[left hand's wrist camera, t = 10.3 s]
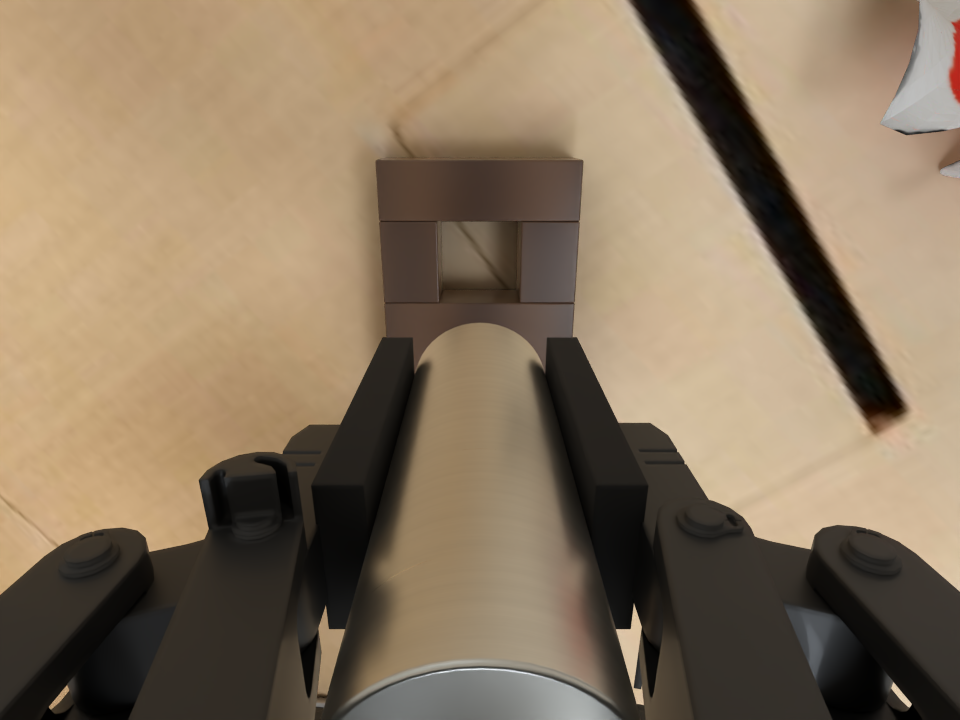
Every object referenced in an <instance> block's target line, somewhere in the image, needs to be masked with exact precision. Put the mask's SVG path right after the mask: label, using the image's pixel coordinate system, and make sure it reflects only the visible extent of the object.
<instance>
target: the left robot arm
mask: <svg viewBox="0 0 960 720" xmlns="http://www.w3.org/2000/svg"><path fill="white" fill-rule="evenodd" d="M414 376H415V374H414V352H413V337H383V338H382V340H381V342H380V344H379V346H378V348H377V350H376V352H375V354H374V357H373V359H372V361H371V363H370V365H369V367H368V369H367V371H366V373H365V375H364V377H363V379H362V381H361V383H360V385H359V387H358V390H357V392H356V394H355V396H354V398H353V400H352V402H351V404H350V406H349V408H348V410H347V412H346V414H345V416H344V418H343V420H342V422H341V425H309V426H307V427H306V428H304V429H303V430H301V431H300V432H299V433H297V434H296V435H294V436H293V437H292V438H291V439H290V441H289V443H288V444H287V446H286V447H285V449H284V451H283V454H279V453H275V452H255V453H249V454H243V455H238V456H236V457H233V458H230V459H227V460H224V461H222V462H220V463H218V464H217V465H215V466H213V467H212V468H210V469H209V470H207V471H206V472H205V474H204V475H203V476H202V477H201V478H200V479H199V484H200V489H201V493H202V498H203V503H204V508H205V512H206V517H207V522H208V527H209V530H208V533H207V535H206V537H205V539H204V540H201V541H197V542H194V543H190V544H186V545H181V546H176V547H172V548H167V549H162V550H157V551H152V552H149V550H148V546H147V542H146V538H145V537H144V536H143V535H142V534H141V533H139V532H138V531H137V530H132V529H127V528H112V529H102V530H97V531H94V532H89V533H86V534H83V535H81V536H79V537H77V538H75V539H72V540H70V541H68V542H66V543H64V544H62V545H60V546H59V547H57V548H56V549H54V550H53V551H52V552H50V553H49V554H47V555H46V556H44V557H43V558H42V559H41V560H40V561H39V562H38V563H36V564H35V565H34V566H33V567H32V568H31V569H30V570H28V571H27V572H26V573H25V574H24V575H23V576H22V577H20V578H19V579H18V580H17V581H16V582H15V583H14V584H12V585H11V586H10V587H9V588H8V589H7V590H6V591H4V592H3V593H2V594H1V595H0V720H315V710H316V700H317V691H318V681H319V671H320V661H321V645H320V638H319V631H318V627H319V624H320V621H321V618H322V615H323V612H324V609H325V606H326V609H327V617H328V625H329V629H346V625H347V621H348V618H349V614H350V610H351V607H352V603H353V599H354V596H355V592H356V588H357V585H358V581H359V577H360V574H361V570H362V566H363V563H364V559H365V555H366V552H367V548H368V544H369V541H370V537H371V533H372V530H373V526H374V522H375V519H376V515H377V511H378V508H379V504H380V501H381V497H382V493H383V490H384V486H385V482H386V479H387V475H388V471H389V468H390V464H391V460H392V457H393V453H394V449H395V446H396V442H397V438H398V435H399V431H400V427H401V424H402V420H403V416H404V413H405V409H406V405H407V402H408V398H409V394H410V391H411V387H412V383H413V380H414ZM545 376H546V380H547V383H548V387H549V391H550V394H551V398H552V401H553V405H554V409H555V412H556V416H557V419H558V423H559V427H560V430H561V434H562V437H563V441H564V445H565V448H566V452H567V455H568V459H569V463H570V466H571V470H572V473H573V477H574V481H575V484H576V488H577V491H578V495H579V499H580V502H581V506H582V509H583V513H584V517H585V520H586V524H587V528H588V531H589V535H590V538H591V542H592V546H593V549H594V553H595V556H596V560H597V564H598V567H599V571H600V574H601V578H602V582H603V585H604V589H605V592H606V596H607V600H608V603H609V607H610V610H611V614H612V618H613V621H614V625H615V628H616V629H631V621H632V614H633V606H634V604H635V607H636V610H637V613H638V616H639V619H640V622H641V625H642V631H641V638H640V645H639V653H638V660H637V668H636V675H635V682H634V688H637V689H641V687H642V689H643V699H644V709H645V718H646V720H960V592H959V591H958V590H957V589H956V588H955V587H954V586H952V585H951V584H950V583H949V582H948V581H947V580H946V579H944V578H943V577H942V576H941V575H940V574H939V573H937V572H936V571H935V570H934V569H933V568H932V567H931V566H929V565H928V564H927V563H926V562H925V561H924V560H923V559H921V558H920V557H919V556H918V555H917V554H916V553H914V552H913V551H911V550H910V549H908V548H907V547H905V546H904V545H902V544H901V543H900V542H898V541H896V540H894V539H891V538H889V537H887V536H885V535H883V534H881V533H879V532H876V531H873V530H870V529H868V530H867V529H866V528H861V527H856V526H842V525H836V526H831V527H826V528H822V529H821V530H820V531H819V532H818V533H817V534H816V535H815V536H814V540H813V544H812V548H811V550H810V549H805V548H800V547H795V546H790V545H785V544H781V543H776V542H771V541H768V540H764V539H760V538H757V537H755V536H754V534H753V532H752V529H751V528H750V526H749V525H748V523H747V522H746V521H745V519H744V518H743V517H742V516H740V515H739V514H738V513H736V512H735V511H733V510H732V509H731V508H729V507H726V506H724V505H722V504H719V503H717V502H714V501H711V500H709V499H708V498H707V496H706V495H705V493H704V492H703V490H702V488H701V487H700V485H699V484H698V482H697V480H696V479H695V477H694V476H693V474H692V473H691V471H690V469H689V468H688V466H687V465H686V464H684V460H683V458H682V457H681V455H680V454H679V452H677V449H676V447H675V446H674V444H673V443H672V441H671V439H670V438H669V436H668V435H667V434H665V433H664V432H662V431H661V430H660V429H658V428H657V427H655V426H654V425H652V424H651V423H618V421H617V419H616V417H615V415H614V413H613V411H612V409H611V407H610V405H609V403H608V401H607V399H606V397H605V394H604V392H603V390H602V388H601V386H600V384H599V382H598V380H597V378H596V376H595V374H594V372H593V370H592V368H591V366H590V364H589V361H588V359H587V357H586V355H585V353H584V351H583V349H582V347H581V345H580V343H579V341H578V339H577V337H547V343H546V365H545ZM893 682H894V683H895V684H896V685H897V687H898V688H899V689H900V690H901V691H902V693H903V694H904V695H905V696H906V697H907V699H908V700H909V701H910V702H911V703H912V705H911V707H910V708H909V707H907V706H906V705H905V704H904V703H903V702H902V701H901V700H900V699H899V698H898V696H897V695H896V694H895V693H894V692H893V690H892V689H891V687H892V684H893ZM66 685H68V688H69V692H68V693H67V694H66V696H65V697H64V698H63V699H62V700H61V702H60V703H58V704H57V705H56V706H55V707H54V708H53V709H52V710H50V709H49V706H50V705H51V703H52V702H53V701H54V700H55V699H56V697H57V696H58V695H59V694H60V693H61V691H62V690H63V689H64V688H65V687H66Z"/></svg>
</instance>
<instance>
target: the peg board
mask: <svg viewBox="0 0 960 720" xmlns="http://www.w3.org/2000/svg"><path fill="white" fill-rule="evenodd" d="M582 175H583V160H580V159H575V158H383V159H379V160H376V177H377V192H378V208H379V220H380V223H379V225H380V241H381V257H382V272H383V288H384V302H385V320H386V336H387V337H413V352H414V374H415V372H416V369H417V366H418V363H419V360H420V358H421V356H422V354H423V353H424V351H425V350H426V348H427V347H428V346H429V345H430V344H431V343H432V342H433V341H434V340H435V339H436V338H437V337H438V336H440V335H441V334H443V333H444V332H446V331H448V330H450V329H452V328H455V327H458V326H461V325H465V324H470V323H490V324H495V325H499V326H502V327H505V328H508V329H510V330H512V331H514V332H516V333H517V334H519V335H520V336H522V337H523V338H524V339H525V340H526V341H527V342H528V343H529V344H530V345H531V346H532V347H533V348H534V350H535V351H536V353H537V354H538V356H539V358H540V360H541V363H542V366H543V369H544V373H545V365H546V343H547V337H572V336H573V320H574V302H575V288H576V272H577V256H578V240H579V224H580V223H579V220H580V207H581V191H582ZM441 221H518V235H517V277H516V289H498V290H442V289H443V277H442V236H441Z"/></svg>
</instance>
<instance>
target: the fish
mask: <svg viewBox="0 0 960 720" xmlns="http://www.w3.org/2000/svg"><path fill="white" fill-rule="evenodd" d="M917 1H918V2H919V29H918V32H917V36H916V40H915V44H914V47H913V51H912V55H911V59H910V62H909V65H908V68H907V70H906V72H905V74H904V77H903V79H902V81H901V84H900V86H899V88H898V91H897V93H896V95H895V97H894V99H893V101H892V103H891V104H890V106H889V108H888V110H887V112H886V114H885V115H884V117H883V119H882V121H881V123H880V124H881V125H884V126H886V127H889V128H891V129H893V130H896V131H898V132H900V133H903V134H905V135H912V134H922V133H931V132H940V131H946V130H951V129H955V128H959V127H960V0H917ZM940 173H941V174H942V175H944V176H949V177H955V178H960V160H959V161H957V162H955V163H953V164H951V165H948V166H946V167H944V168H942V169H941V170H940Z"/></svg>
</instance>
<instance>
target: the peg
mask: <svg viewBox="0 0 960 720" xmlns="http://www.w3.org/2000/svg"><path fill="white" fill-rule="evenodd" d="M321 720H641V719H640V715H639V711H638V708H637V704H636V700H635V697H634V693H633V690H632V686H631V682H630V679H629V675H628V672H627V668H626V664H625V661H624V657H623V654H622V650H621V646H620V643H619V639H618V636H617V632H616V628H615V625H614V621H613V618H612V614H611V610H610V607H609V603H608V600H607V596H606V592H605V589H604V585H603V582H602V578H601V574H600V571H599V567H598V564H597V560H596V556H595V553H594V549H593V546H592V542H591V538H590V535H589V531H588V528H587V524H586V520H585V517H584V513H583V509H582V506H581V502H580V499H579V495H578V491H577V488H576V484H575V481H574V477H573V473H572V470H571V466H570V463H569V459H568V455H567V452H566V448H565V445H564V441H563V437H562V434H561V430H560V427H559V423H558V419H557V416H556V412H555V409H554V405H553V401H552V398H551V394H550V391H549V387H548V383H547V380H546V376H545V373H544V369H543V366H542V363H541V360H540V358H539V356H538V354H537V353H536V351H535V350H534V348H533V347H532V346H531V345H530V344H529V343H528V342H527V341H526V340H525V339H524V338H523V337H522V336H520V335H519V334H517V333H516V332H514V331H512V330H510V329H508V328H505V327H502V326H499V325H495V324H490V323H470V324H465V325H461V326H458V327H455V328H452V329H450V330H448V331H446V332H444V333H443V334H441V335H440V336H438V337H437V338H436V339H435V340H434V341H433V342H432V343H431V344H430V345H429V346H428V347H427V348H426V350H425V351H424V353H423V354H422V356H421V358H420V360H419V363H418V366H417V369H416V372H415V376H414V380H413V383H412V387H411V391H410V394H409V398H408V402H407V405H406V409H405V413H404V416H403V420H402V424H401V427H400V431H399V435H398V438H397V442H396V446H395V449H394V453H393V457H392V460H391V464H390V468H389V471H388V475H387V479H386V482H385V486H384V490H383V493H382V497H381V501H380V504H379V508H378V511H377V515H376V519H375V522H374V526H373V530H372V533H371V537H370V541H369V544H368V548H367V552H366V555H365V559H364V563H363V566H362V570H361V574H360V577H359V581H358V585H357V588H356V592H355V596H354V599H353V603H352V607H351V610H350V614H349V618H348V621H347V625H346V629H345V632H344V636H343V640H342V643H341V647H340V651H339V654H338V658H337V662H336V665H335V669H334V673H333V676H332V680H331V684H330V687H329V691H328V694H327V698H326V702H325V705H324V709H323V713H322V716H321Z"/></svg>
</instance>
